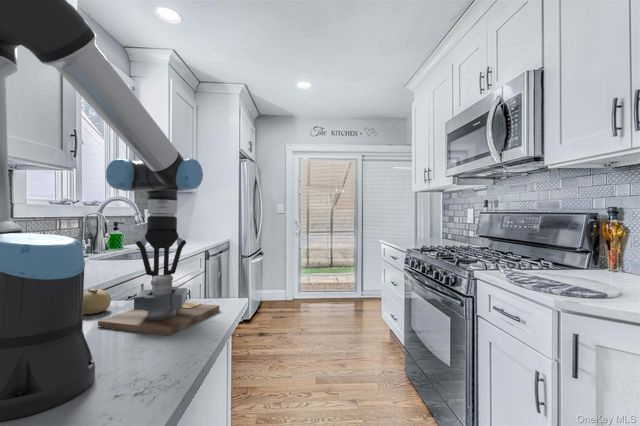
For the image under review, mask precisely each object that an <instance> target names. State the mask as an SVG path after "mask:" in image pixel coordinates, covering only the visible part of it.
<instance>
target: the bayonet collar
mask: <svg viewBox="0 0 640 426" xmlns="http://www.w3.org/2000/svg"><path fill="white" fill-rule="evenodd" d="M187 300H188V288H187V287H181V288H180V287H177V286H172V294H171V295H152V289H143V290H142V291H140V292H139V293H138V294H136V295H135V296H134V298H133V309H134V310H144V311H154V310H170V309H171V308H182V306H183V305H184V303H185V302H187Z"/></svg>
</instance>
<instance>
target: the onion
mask: <svg viewBox="0 0 640 426" xmlns="http://www.w3.org/2000/svg"><path fill="white" fill-rule="evenodd" d="M111 302H112V297H111V295H110V293H109V292H107V291H106V290H103V289H100V287H98V288H89V289H88V290H86V291H85V292H83V315H84V314H89V315H93V314H94V313H96V314H98V313H102V311H103V312H106V310H108V309H109V307H110V306H111ZM94 315H95V314H94Z"/></svg>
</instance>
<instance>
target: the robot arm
mask: <svg viewBox="0 0 640 426" xmlns="http://www.w3.org/2000/svg"><path fill="white" fill-rule="evenodd" d="M96 41H97V34H96V33H95V32H94V31H93V29H92V28H91V27H90V25H89V24H88V23H87V21H86V20H85V19H84V17H83V16H82V15H81V14H80V13H79V11H78V10H77V8H75V7H74V6H73V5H72V4H71V3H70V2H69V1H68V0H0V422H1V421H7V420H12V419H13V420H14V419H17V418H23V417H25V416H29V415H33V414H37V413H41V412H42V411H46V410H48V409H51V408H54V407H56V406H58V405H61V404H64V403H65V402H68V401H70V400H72V399H74V398H75V397H77V396H79V395H80V394H82V393H84V392H85V391H86V390H87V389H89V388H90V386H92V384H93V383H94V382H95V378H96V363H95V359H94V358H93V356H92V352H91V350H90V347H89V345H88V342H87V340H86V337H85V334H84V330H83V329H84V328H83V326H84V325H83V319H84V318H83V317H84V316H83V315H84V314H83V293H85V292H84V290H85V289H84V288H85V285H84V284H85V267H86V261H85V256H84V247H83V245H82V243H81V242H80V241H79V240H78V239H76V238H73V237H69V236H65V235H58V234H46V233H45V234H44V233H33V232H30V233H29V232H27V233H26V232H23V228H22V227H21V226H20V225H19V224H18V223H16V222H14V221H13V220H12V219H11V217H10V189H9V183H10V182H9V155H8V153H9V151H8V126H7V125H8V121H7V119H8V118H7V117H8V115H7V91H6V90H7V87H6V86H7V83H6V82H7V81H6V79H7V78H8V77H9V76H12V75H13V74H15V73H17V72H18V47H19V46H22V47H24V48H25V49H27V50H29V52H30V53H32V54H33V55H34V56H35V57H36V59H38V60H39V62H40V63H42V64H43V65H46V66H50V67H51V66H52V67H54V68H55V69H56V70H57V71H58V72H59V73H60V75H61V76H63V78H64V79H65V80H66V81H67V82H68V83H69V84H70V85H71V86H72V88H73V89H74V90H75V91H76V92H77V93H78V94H79V95H80V96H81V97H82V98H83V100H85V102H86V103H88V105H89V106H90V107H91V108H92V109H93V110H94V111H95V112H96V114H98V116H100V118H101V119H102V120H103V121H104V122H105V123H106V125H107V126H109V127H110V129H111V130H112V131H113V132H114V133H115V135H117V137H119V139H120V140H121V141H123V143H124V144H125V145H126V146H127V147H128V148H129V150H131V151H132V153H134V156H137V158H138V159H139V161H138V160H137V161H136V160H131V159H128V158H126V159H123V158H115V159H113V160H111V162H109V164H108V165H107V167H106V169H105V178H106V182H107V183H108V185H109V186H110V187H111V188H113V189H114V190H121V191H123V192H126V191H127V192H128V191H129V192H138V193H146V194H147V214H148V215H149V216H148V217H147V218H146V219H147V221H146V222H147V223H146V233H145V234H144V237H143V238H141V239H139V240H137V241H136V242H135V244H136V246H137V247H138V249H139V250H140V254H141V259H142V262H143V267H144V270H145V274H146V275H147V276H151V277H153V276H157V275H160V273H159V272H160V271H159V270H160V249H163V274H162V275H174V274H175V273H176V270H177V267H178V264H179V260H180V256H181V254H182V250H183V248H184V247H185V246H186V244H187V240H186V239H182V238H181V237H180V236H179V233H178V228H177V227H178V217H177V216H176V215H178V191H179V192H185V191H190V190H191V191H192V190H196V189H197V188H199V187H200V186H201V183H202V182H203V179H204V172H203V168H202V165H201V163H200V162H199V161H198V160H196V159H194V158H192V157H191V158H189V157H185V158H184V157H183V156H182V155H181V154H180V152H179V151H178V149H177V147H175V146H174V145H173V143H172V142H171V140H170V139H169V138H168V137H167V135H166V134H165V133H164V132H163V130H162V129H161V128H160V126H159V124H157V122H156V121H155V120H154V119H153V117H152V116H151V115H150V113H149V112H148V111H147V109H146V108H145V107H144V106H143V104H142V103H141V102H140V100H139V99H138V98H137V96H136V95H135V94H134V93H133V91H132V89H131V88H129V86H128V84H126V82H125V81H124V79H123V78H122V77H121V75H120V74H119V73H118V72H117V70H115V68H114V67H113V65H112V64H111V63H110V61H109V60H108V59H107V57H106V56H105V54H104V53H103V52H102V51H101V49H99V47H98V46H97V44H96ZM147 242H148V244H149V245H150V246H151V247H152V248H153V270H152V268H151V263H150V261H149V260H150V259H149V255H148V252H147V248H146V245H147ZM175 242H176V245H177V246H176V247H177V248H176V250H175V251H176V252H175V254H174V258H173V261H172V263H171V268H170V269H169V266H170V265H169V263H170V262H169V260H170V259H169V258H170V248H171V247H172V246H173V245H174V244H175Z"/></svg>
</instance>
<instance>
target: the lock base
mask: <svg viewBox="0 0 640 426" xmlns="http://www.w3.org/2000/svg"><path fill="white" fill-rule="evenodd" d="M173 281H174V276H173V274H171V275H163V274H159V275H157V276H152V279H151V280H150V285H151V286H152V287H151V288H152V289H151V290H152V295H171V294H172V287H173ZM218 312H220V305H218V304H217V305H216V304H205V303H200V302H199V303H198V302H189V301H188V302H187V301H186V302H185V303H184V305H183V306H182V308H171V309H170V310H154V311H144V310H134V308H133V309H130V310H126V311H124V312H120V313H118V314H115V315H112V316H109V317H106V318H102V319H101V320H98V321H97V327H98V326H100V327H107V328H106V329H108V328H114V329H113V330H117V329H119V331H125V330H129V331H128V332H134V331H135V333H143V334H150V335H151V334H152V335H159V336H160V335H161V336H168V337H169V336H172V335H173V334H175V333H177V332H180V331H181V330H183V329H185V328H188V327H189V326H192V325H194V324H196V323H198V322H200V321H202V320H204V319H206V318H208V317H210V316H212V315H214V314H216V313H218ZM100 327H99V328H100Z"/></svg>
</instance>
